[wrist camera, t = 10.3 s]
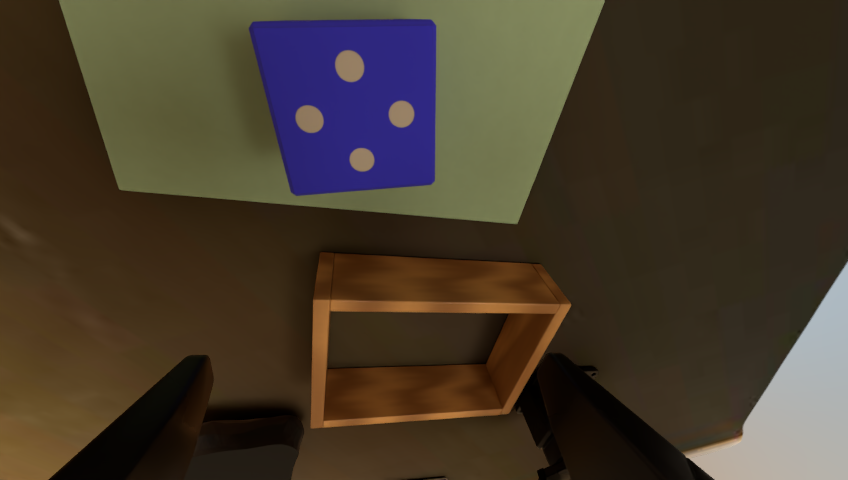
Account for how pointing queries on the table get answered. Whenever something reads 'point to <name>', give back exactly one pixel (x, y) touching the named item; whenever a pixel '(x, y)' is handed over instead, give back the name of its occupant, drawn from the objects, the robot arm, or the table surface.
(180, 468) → the robot arm
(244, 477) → the black sponge
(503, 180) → the mat
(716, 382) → the table surface
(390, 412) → the pine box
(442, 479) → the medicine box
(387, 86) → the die
